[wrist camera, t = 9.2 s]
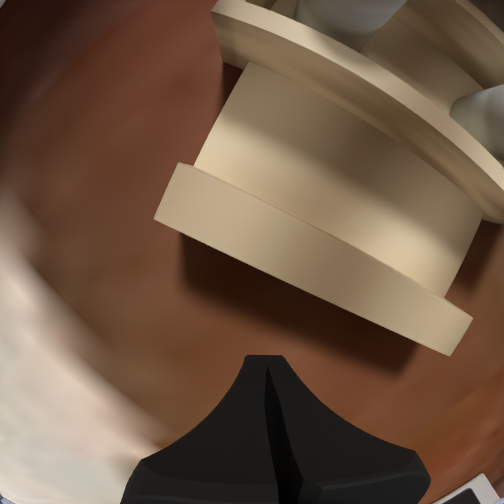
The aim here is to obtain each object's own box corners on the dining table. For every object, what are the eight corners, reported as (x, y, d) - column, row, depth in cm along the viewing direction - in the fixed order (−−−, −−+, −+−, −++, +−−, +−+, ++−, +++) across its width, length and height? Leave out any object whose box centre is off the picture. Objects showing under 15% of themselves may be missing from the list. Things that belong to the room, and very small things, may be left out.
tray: (514, 119, 9) (594, 111, 4) (427, 328, 11) (498, 396, 6) (288, -35, 8) (305, -122, 3) (154, 196, 10) (75, 211, 5)
